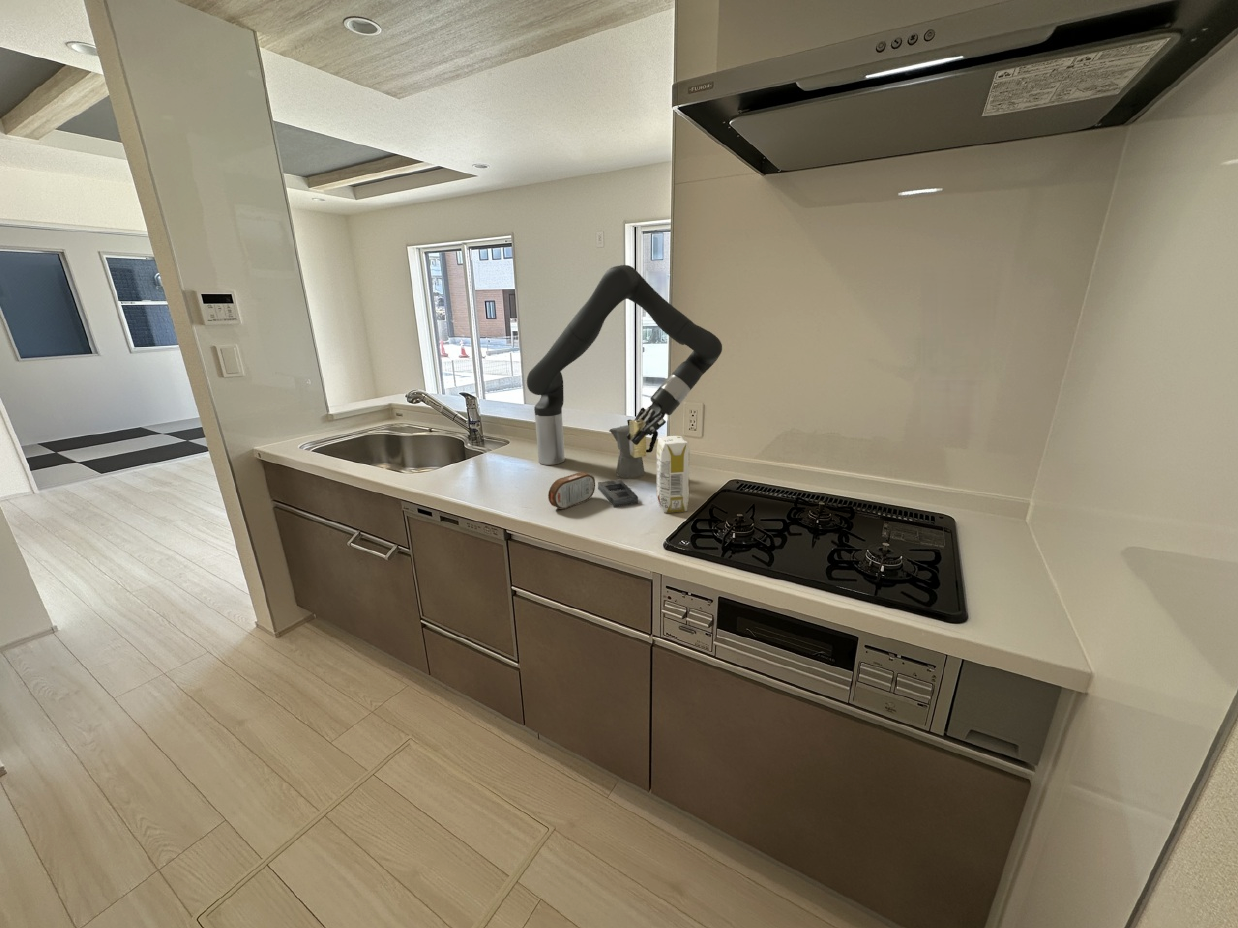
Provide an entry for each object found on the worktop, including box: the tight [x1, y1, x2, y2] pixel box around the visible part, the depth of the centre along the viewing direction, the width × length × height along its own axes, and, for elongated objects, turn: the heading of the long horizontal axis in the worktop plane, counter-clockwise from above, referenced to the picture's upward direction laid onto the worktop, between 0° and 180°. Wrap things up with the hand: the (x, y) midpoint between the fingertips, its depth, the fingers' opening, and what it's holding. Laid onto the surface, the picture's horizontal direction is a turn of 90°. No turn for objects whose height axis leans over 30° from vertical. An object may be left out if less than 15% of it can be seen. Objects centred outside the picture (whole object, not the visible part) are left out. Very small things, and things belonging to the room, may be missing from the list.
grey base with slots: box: [597, 479, 639, 508], centre depth 139 cm, size 15×7×2 cm, turn 19°
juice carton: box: [656, 435, 691, 514], centre depth 128 cm, size 8×9×19 cm
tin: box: [547, 471, 596, 510], centre depth 133 cm, size 15×3×8 cm, turn 135°
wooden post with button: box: [629, 419, 647, 458], centre depth 138 cm, size 4×4×10 cm
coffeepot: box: [608, 419, 659, 479], centre depth 154 cm, size 15×9×18 cm, turn 83°
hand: (631, 440), depth 137 cm, fingers closed on wooden post with button, 3 cm apart
